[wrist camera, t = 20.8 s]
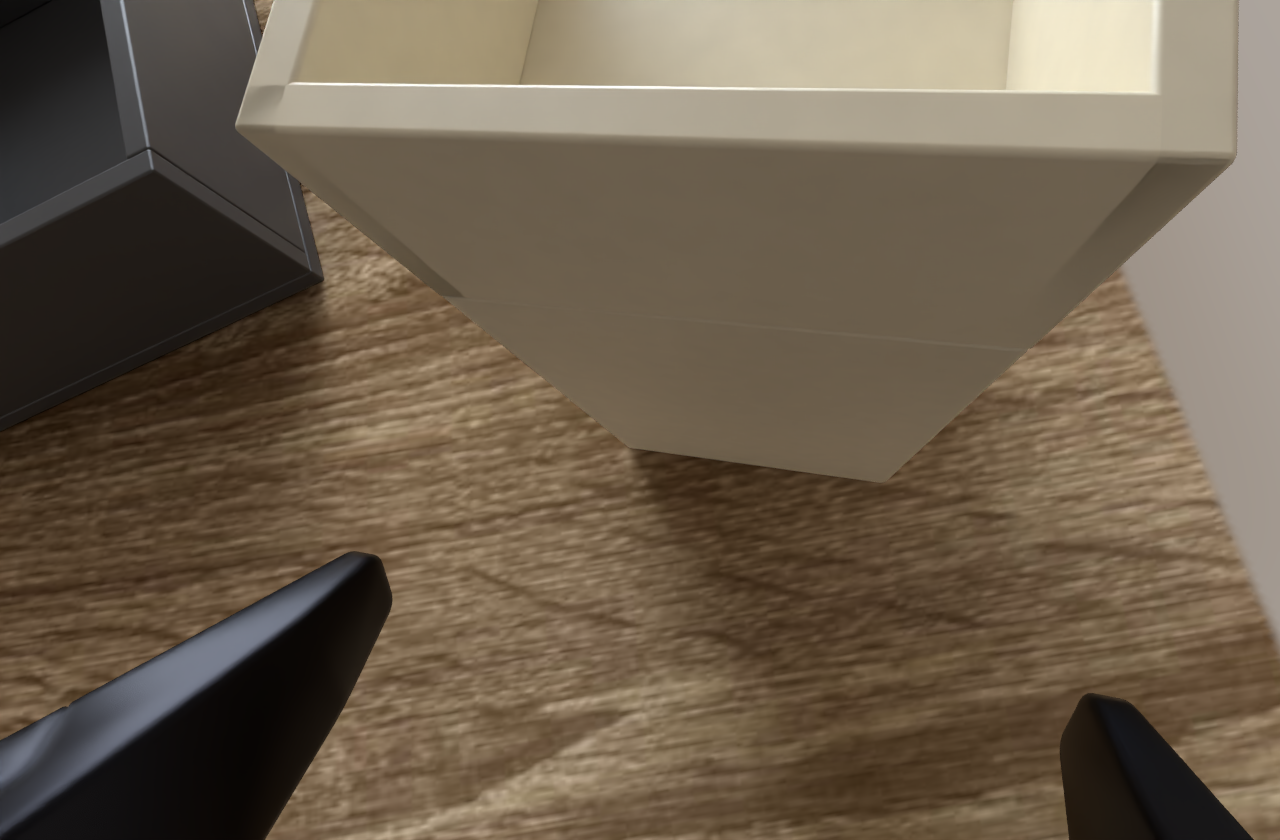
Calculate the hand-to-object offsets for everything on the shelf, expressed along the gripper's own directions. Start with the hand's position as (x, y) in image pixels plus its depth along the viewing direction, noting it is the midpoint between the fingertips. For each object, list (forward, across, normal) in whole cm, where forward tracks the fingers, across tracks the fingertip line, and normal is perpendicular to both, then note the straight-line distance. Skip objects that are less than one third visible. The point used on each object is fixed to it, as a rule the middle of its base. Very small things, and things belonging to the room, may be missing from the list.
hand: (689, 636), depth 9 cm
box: (+9, 0, 0) cm, 9 cm away
